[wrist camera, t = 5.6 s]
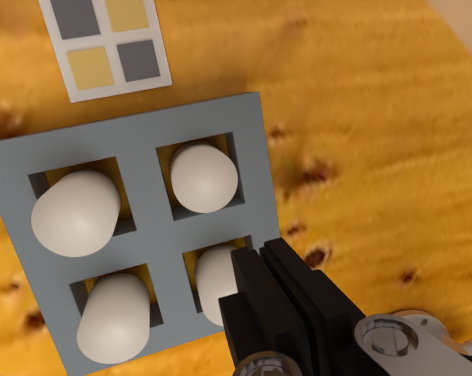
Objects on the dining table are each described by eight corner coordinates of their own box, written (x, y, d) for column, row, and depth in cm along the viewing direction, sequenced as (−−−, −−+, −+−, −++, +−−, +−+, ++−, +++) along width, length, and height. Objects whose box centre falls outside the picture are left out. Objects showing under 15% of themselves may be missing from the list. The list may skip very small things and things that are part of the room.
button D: (141, 266, 25) (139, 296, 21) (156, 314, 26) (156, 351, 22) (80, 282, 24) (66, 317, 20) (98, 332, 25) (89, 372, 22)
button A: (220, 136, 26) (231, 142, 22) (230, 189, 27) (242, 204, 23) (163, 148, 25) (165, 156, 21) (176, 202, 26) (180, 220, 22)
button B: (243, 238, 26) (258, 262, 22) (252, 286, 28) (268, 315, 24) (188, 253, 25) (195, 280, 22) (200, 301, 27) (208, 334, 23)
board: (247, 92, 26) (258, 91, 23) (278, 290, 31) (291, 309, 28) (-6, 140, 22) (-29, 146, 20) (78, 351, 28) (69, 380, 25)
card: (148, -24, 22) (148, -27, 22) (172, 84, 24) (172, 84, 24) (36, -10, 21) (33, -14, 20) (72, 102, 23) (70, 103, 22)
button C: (111, 163, 22) (102, 176, 19) (128, 222, 24) (123, 245, 20) (42, 178, 22) (18, 194, 18) (64, 238, 23) (46, 265, 19)
